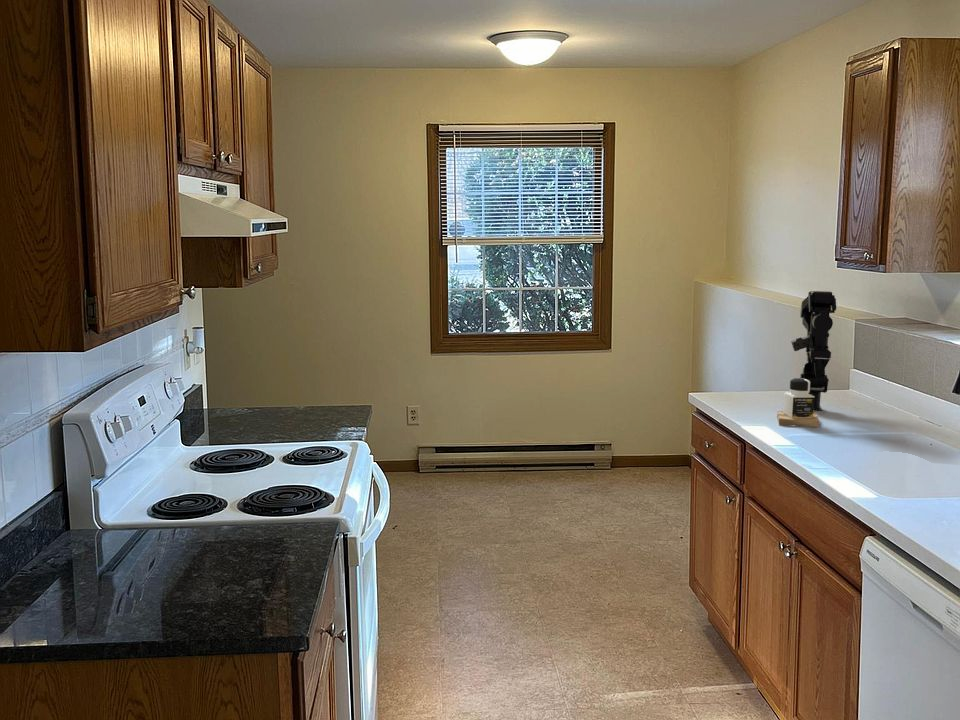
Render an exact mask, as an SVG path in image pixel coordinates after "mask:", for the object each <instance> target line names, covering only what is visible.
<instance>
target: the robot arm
mask: <svg viewBox="0 0 960 720" xmlns="http://www.w3.org/2000/svg"><path fill="white" fill-rule="evenodd" d="M835 297H836V296H835V294H833V292H832V291H824V290H822V291H821V290H820V291H819V290H810V291H808V294H807V296H806V297H805V298H804V299H803V300H802V302H801V305H800V318H801V319H802V320H801V323H802V325H803V327H804V328H805V330H806V336H804V337H801V336H800V337H798V338H797V337H796V339H794V340H791V341H790V343H791V346H792V349H793V351H794V352H797V351H800V350H803V349H805V352H806V363H805V364H804V366H803V368H802V373H800V376H799V378H802V379H807V380H809V381H810V392H809V393H808V394H810V395H812V396H814V397H815V400H814V411H816V412H817V411H820V412H821V411H822V410H823V409H822V407H821V396H822V395H821V393H824V394H825V393H827V392H828V386H829V382H830V381H829V378H828V375H827V374H826V367H827V365H828V364H829V362H830V360H831V358H832V351H830V350H829V344H828V343H829V337H830V333H829V332H830V330H831V329H832V327H833V324H834V322H833V319H832V317H831V316H830V314H835V312H836V311H837V298H835Z"/></svg>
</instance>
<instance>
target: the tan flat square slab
mask: <svg viewBox="0 0 960 720" xmlns="http://www.w3.org/2000/svg"><path fill="white" fill-rule="evenodd" d="M776 418H777V423H778V426H786V425H795V426H794V427H801V426H808V427H807V428H817V427H819V428H820V419H819V417H818V415H817V413H815V412H814V414H813V418H791V417H789V416H787V415H785V414H783V410H782V411H781V410H777V412H776Z"/></svg>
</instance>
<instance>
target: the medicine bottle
mask: <svg viewBox="0 0 960 720" xmlns="http://www.w3.org/2000/svg"><path fill="white" fill-rule="evenodd" d="M789 381H790V382H789V392H788V391H785V392H784V393H783V395H784V396H783V408H782V409H783V410H782V411H783V414H785V415H787V416H789V417H791V418H813V414H814V413H815V410H814V400H815V397H814V396H812V395H810V394H808V393H809V392H810V381H809V380H807V379H802V378H800V377H799V378H798V377H797V378H796V377H794V378H793V379H790V380H789Z"/></svg>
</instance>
